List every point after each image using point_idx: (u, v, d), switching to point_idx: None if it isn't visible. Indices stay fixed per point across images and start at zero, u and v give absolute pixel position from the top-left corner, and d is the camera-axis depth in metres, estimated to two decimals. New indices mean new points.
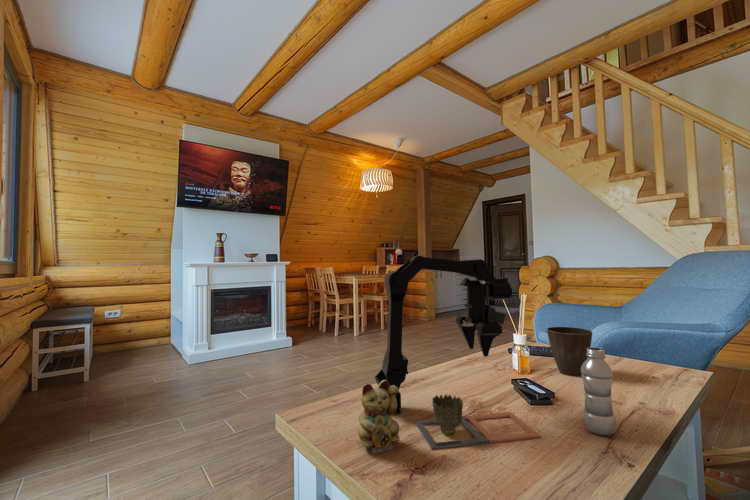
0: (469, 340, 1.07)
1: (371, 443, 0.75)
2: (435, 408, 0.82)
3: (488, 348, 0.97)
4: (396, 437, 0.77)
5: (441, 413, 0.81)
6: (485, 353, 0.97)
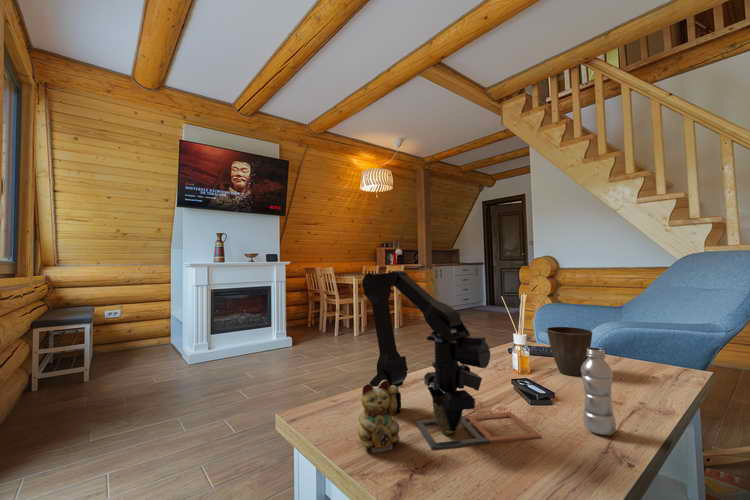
0: None
1: (371, 443, 0.75)
2: (435, 408, 0.82)
3: (456, 421, 0.79)
4: (396, 437, 0.77)
5: (441, 413, 0.81)
6: (453, 427, 0.79)
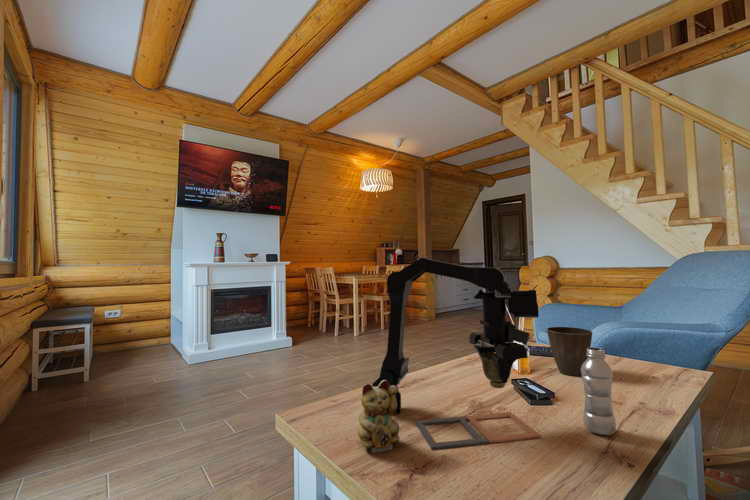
0: None
1: (371, 443, 0.75)
2: (485, 362, 0.84)
3: (507, 373, 0.82)
4: (396, 437, 0.77)
5: (491, 366, 0.83)
6: (504, 379, 0.82)
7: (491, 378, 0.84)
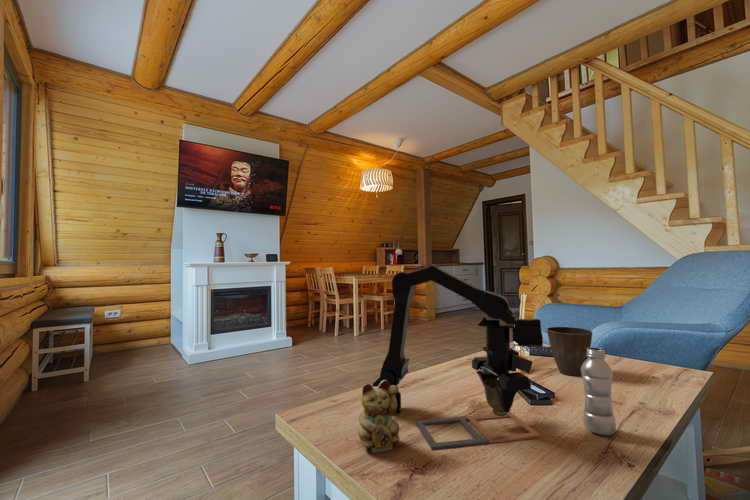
0: None
1: (371, 443, 0.75)
2: (488, 390, 0.84)
3: (510, 403, 0.82)
4: (396, 437, 0.77)
5: (495, 395, 0.83)
6: (506, 408, 0.82)
7: (494, 406, 0.84)
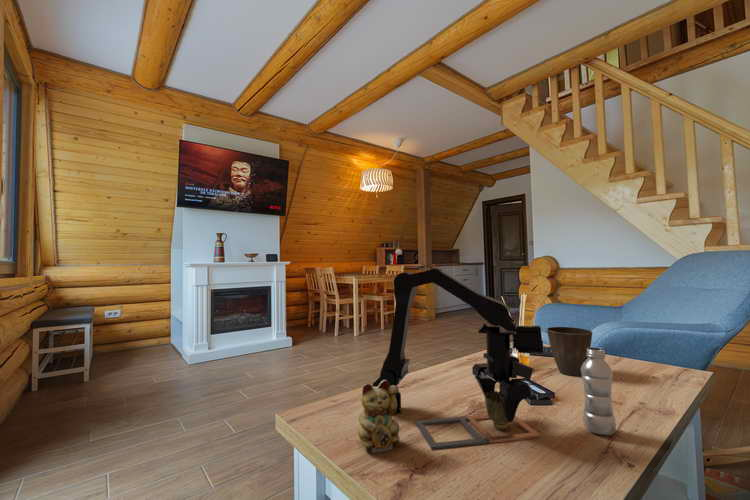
0: None
1: (371, 443, 0.75)
2: (489, 404, 0.84)
3: (514, 412, 0.80)
4: (396, 437, 0.77)
5: (496, 408, 0.83)
6: (510, 418, 0.81)
7: (495, 420, 0.83)
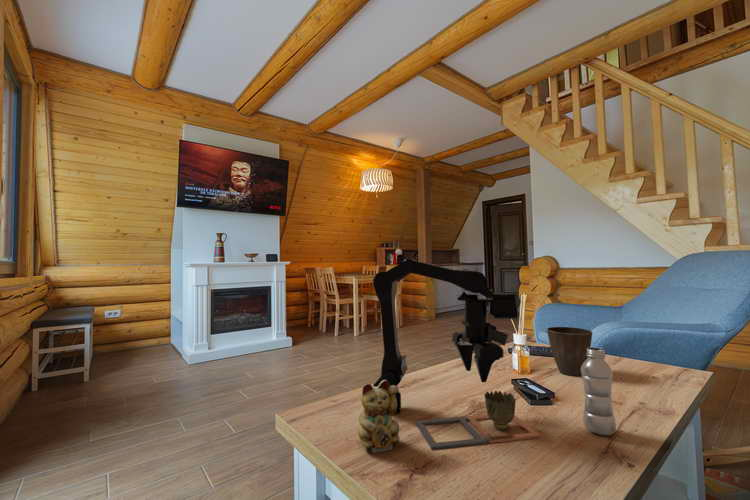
0: (466, 361, 0.95)
1: (371, 443, 0.75)
2: (489, 404, 0.84)
3: (487, 373, 0.85)
4: (396, 437, 0.77)
5: (496, 408, 0.83)
6: (483, 378, 0.85)
7: (495, 420, 0.83)
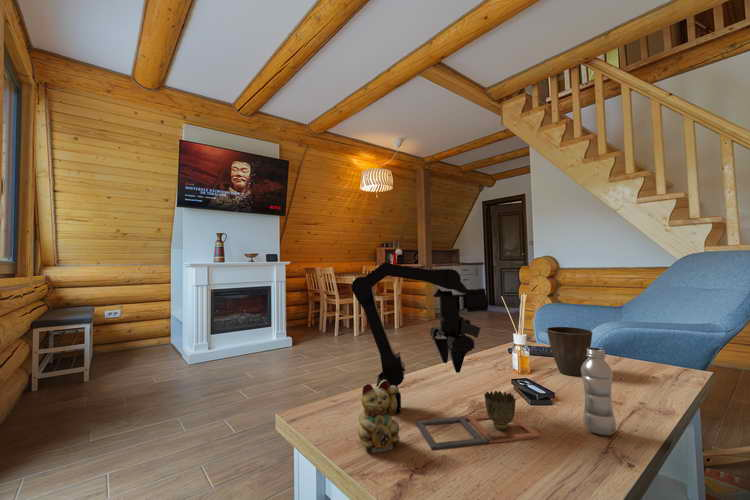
0: (443, 354, 1.01)
1: (371, 443, 0.75)
2: (489, 404, 0.84)
3: (460, 364, 0.91)
4: (396, 437, 0.77)
5: (496, 408, 0.83)
6: (457, 369, 0.91)
7: (495, 420, 0.83)
